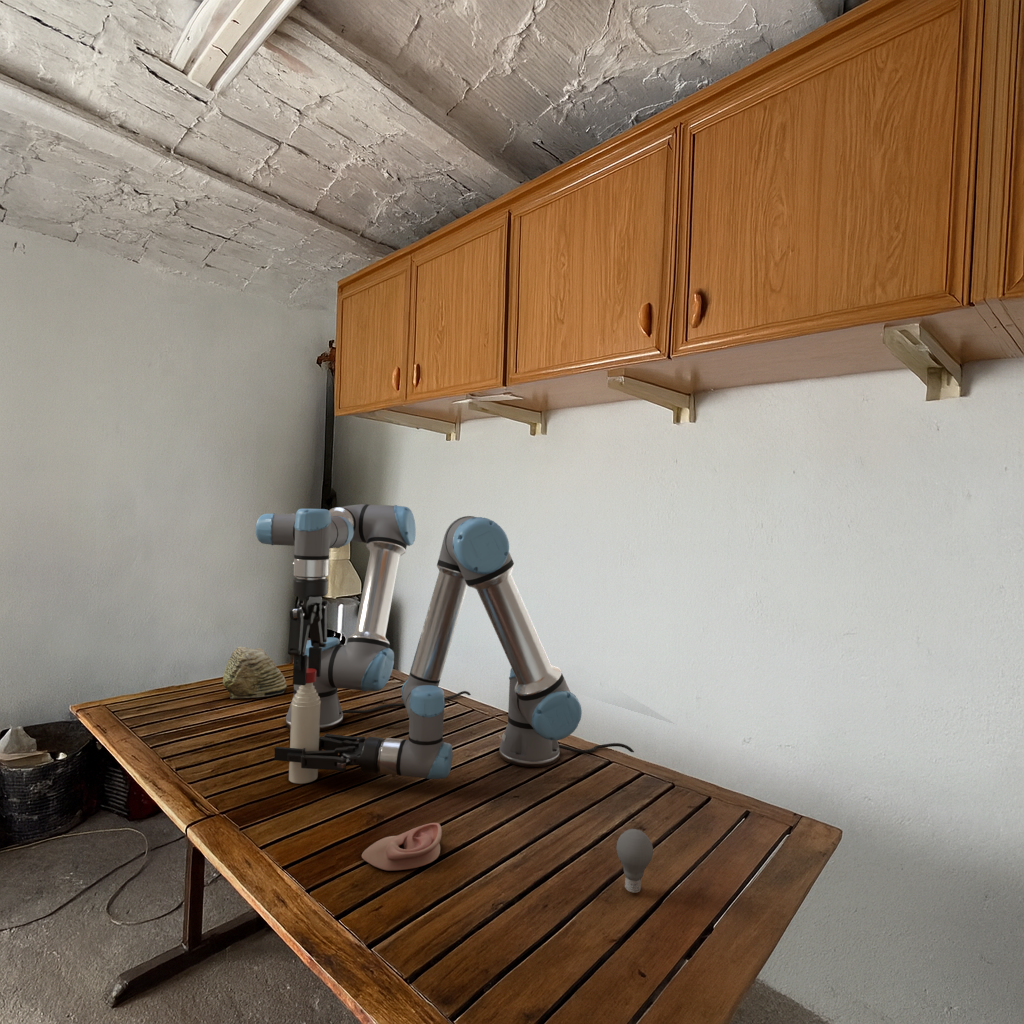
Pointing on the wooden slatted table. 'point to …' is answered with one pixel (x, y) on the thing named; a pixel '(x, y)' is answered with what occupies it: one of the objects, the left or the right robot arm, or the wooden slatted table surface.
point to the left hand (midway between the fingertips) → (306, 679)
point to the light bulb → (634, 857)
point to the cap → (310, 675)
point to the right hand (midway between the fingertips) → (282, 747)
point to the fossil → (252, 674)
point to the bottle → (304, 730)
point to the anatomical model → (406, 849)
